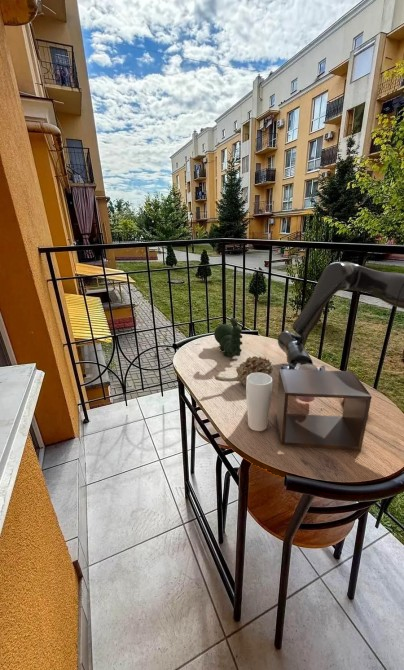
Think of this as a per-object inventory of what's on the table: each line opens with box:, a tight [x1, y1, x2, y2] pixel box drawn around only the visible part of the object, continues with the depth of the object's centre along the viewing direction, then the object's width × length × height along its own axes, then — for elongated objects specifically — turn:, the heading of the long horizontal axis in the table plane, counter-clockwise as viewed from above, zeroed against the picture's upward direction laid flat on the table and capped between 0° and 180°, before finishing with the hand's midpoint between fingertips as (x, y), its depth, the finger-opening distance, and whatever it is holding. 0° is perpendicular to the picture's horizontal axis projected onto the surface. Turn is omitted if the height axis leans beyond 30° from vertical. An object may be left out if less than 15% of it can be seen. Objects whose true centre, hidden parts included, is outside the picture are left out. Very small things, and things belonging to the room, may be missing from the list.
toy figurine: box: [213, 317, 244, 358], centre depth 124 cm, size 9×19×25 cm
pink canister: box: [295, 364, 318, 403], centre depth 84 cm, size 5×5×10 cm
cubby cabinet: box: [275, 368, 373, 452], centre depth 72 cm, size 19×12×15 cm, turn 82°
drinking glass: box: [245, 373, 273, 432], centre depth 75 cm, size 7×7×15 cm
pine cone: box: [213, 355, 273, 386], centre depth 97 cm, size 22×10×10 cm, turn 113°
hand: (309, 384), depth 82 cm, fingers closed on pink canister, 5 cm apart
